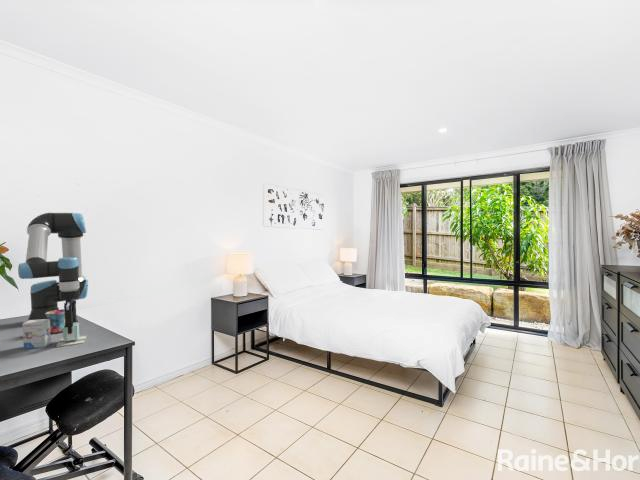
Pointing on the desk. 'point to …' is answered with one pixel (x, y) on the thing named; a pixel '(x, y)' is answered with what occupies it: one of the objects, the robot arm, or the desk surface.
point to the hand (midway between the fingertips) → (71, 338)
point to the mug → (56, 320)
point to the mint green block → (76, 332)
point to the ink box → (36, 333)
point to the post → (71, 341)
